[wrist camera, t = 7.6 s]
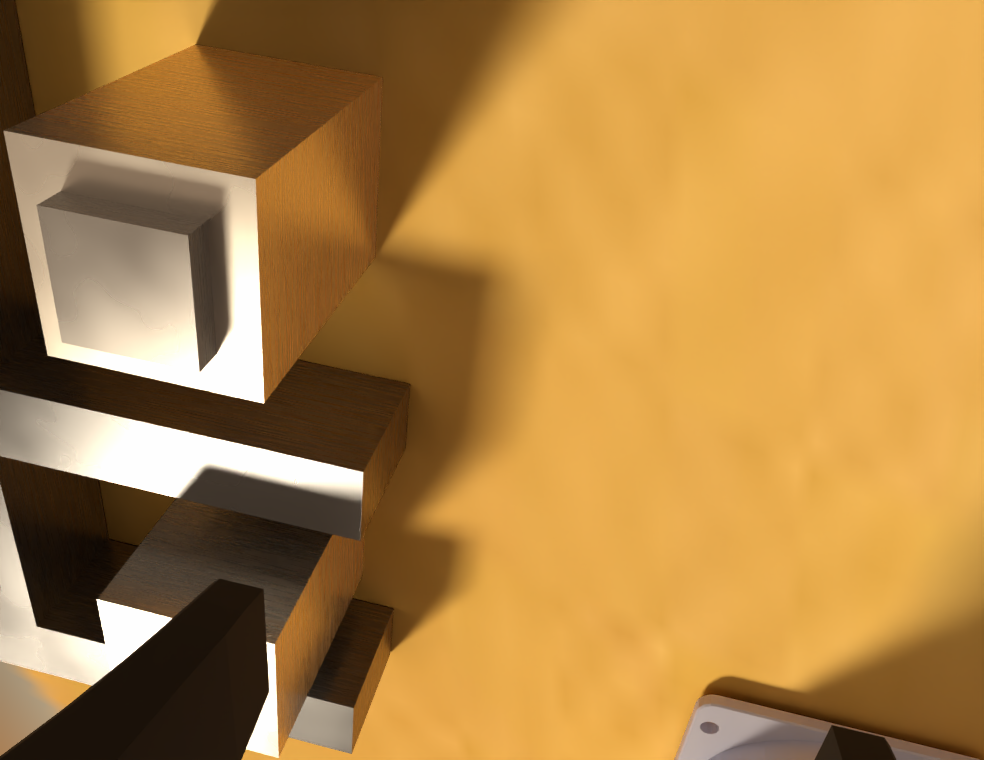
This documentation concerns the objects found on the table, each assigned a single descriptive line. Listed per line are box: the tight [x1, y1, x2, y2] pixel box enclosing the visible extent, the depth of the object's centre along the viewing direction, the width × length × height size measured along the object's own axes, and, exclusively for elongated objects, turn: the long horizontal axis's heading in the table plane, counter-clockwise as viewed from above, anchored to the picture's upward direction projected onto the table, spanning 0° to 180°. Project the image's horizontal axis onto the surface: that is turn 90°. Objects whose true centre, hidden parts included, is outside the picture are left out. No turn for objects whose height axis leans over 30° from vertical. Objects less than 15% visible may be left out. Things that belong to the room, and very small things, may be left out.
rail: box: [0, 0, 410, 754], centre depth 20 cm, size 22×10×4 cm, turn 174°
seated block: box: [97, 498, 364, 758], centre depth 22 cm, size 4×4×6 cm
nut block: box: [4, 44, 383, 403], centre depth 16 cm, size 4×4×7 cm
